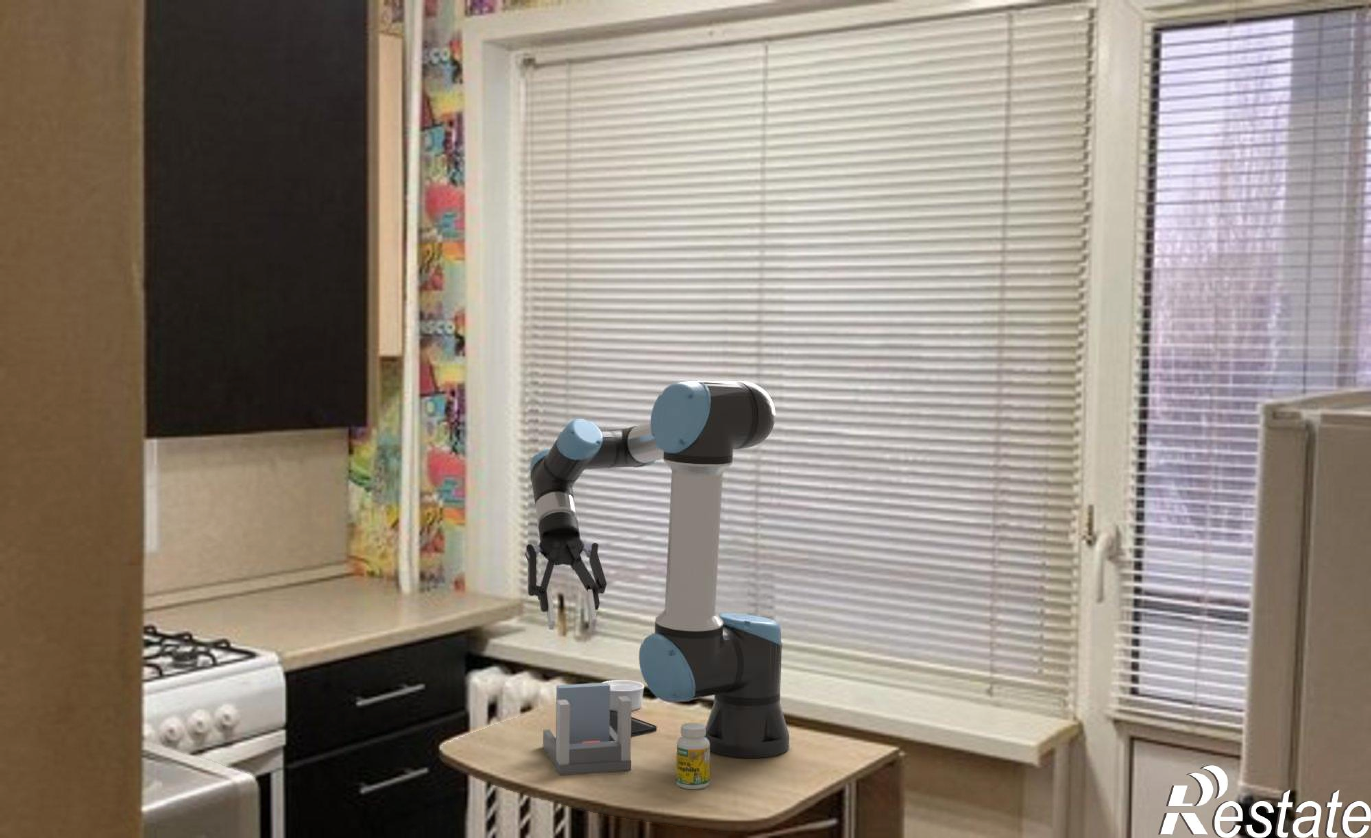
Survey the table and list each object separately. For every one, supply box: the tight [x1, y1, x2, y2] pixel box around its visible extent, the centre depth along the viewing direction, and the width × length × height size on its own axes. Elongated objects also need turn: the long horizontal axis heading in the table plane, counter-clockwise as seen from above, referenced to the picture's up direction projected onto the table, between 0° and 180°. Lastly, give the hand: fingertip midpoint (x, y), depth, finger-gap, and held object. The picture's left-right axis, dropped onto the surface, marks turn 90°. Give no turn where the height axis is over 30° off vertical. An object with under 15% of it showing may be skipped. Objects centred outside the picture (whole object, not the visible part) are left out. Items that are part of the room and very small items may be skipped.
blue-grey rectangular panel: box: [555, 682, 610, 744], centre depth 236 cm, size 2×9×10 cm, turn 106°
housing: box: [542, 696, 632, 776], centre depth 233 cm, size 16×12×12 cm
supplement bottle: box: [675, 722, 711, 790], centre depth 220 cm, size 5×5×10 cm
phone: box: [610, 710, 658, 738], centre depth 254 cm, size 8×1×15 cm
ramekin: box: [601, 679, 645, 712], centre depth 267 cm, size 9×9×4 cm
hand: (573, 624), depth 244 cm, fingers open, 7 cm apart
